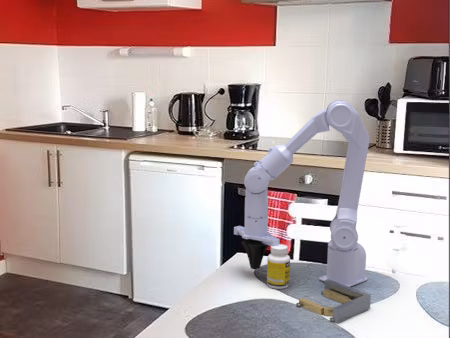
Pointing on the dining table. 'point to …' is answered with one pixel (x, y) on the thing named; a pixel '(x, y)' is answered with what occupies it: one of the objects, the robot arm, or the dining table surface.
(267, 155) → the robot arm
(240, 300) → the dining table surface
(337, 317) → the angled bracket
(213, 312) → the dining table surface
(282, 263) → the supplement bottle
